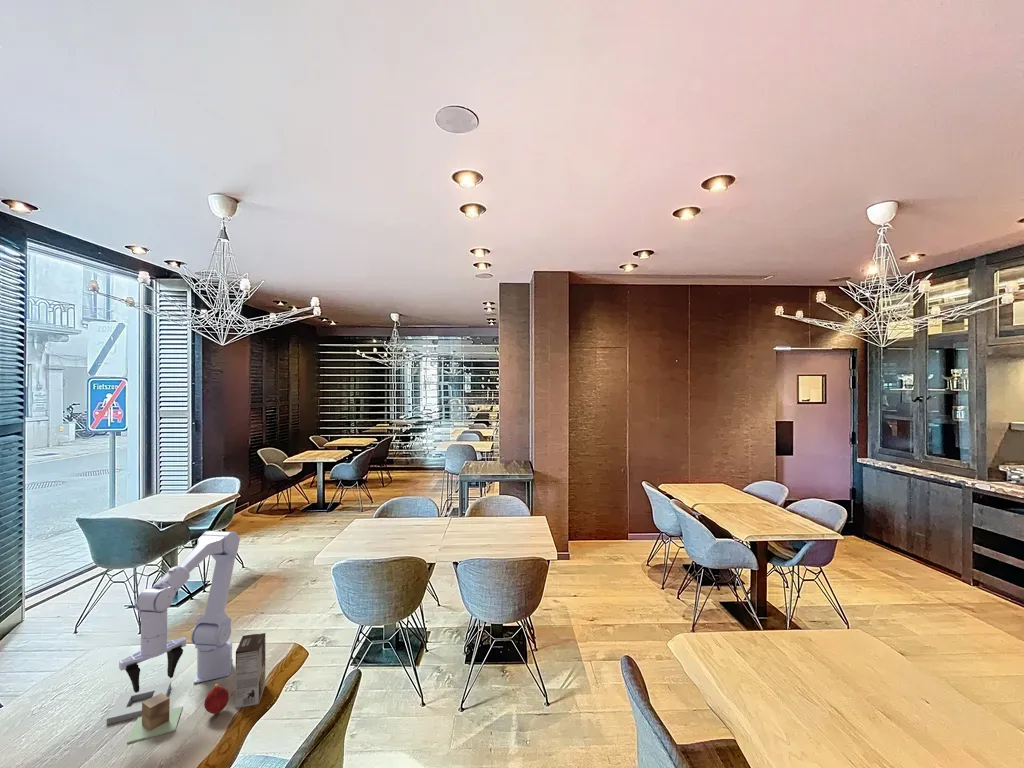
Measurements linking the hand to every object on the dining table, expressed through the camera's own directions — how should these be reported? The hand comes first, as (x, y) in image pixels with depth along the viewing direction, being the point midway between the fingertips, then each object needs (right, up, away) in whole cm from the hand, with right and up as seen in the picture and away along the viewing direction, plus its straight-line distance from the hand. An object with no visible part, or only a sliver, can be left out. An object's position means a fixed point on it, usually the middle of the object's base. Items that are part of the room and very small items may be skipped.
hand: (153, 683), depth 126 cm
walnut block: (+2, -10, -2) cm, 10 cm away
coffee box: (+21, -10, +10) cm, 25 cm away
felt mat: (+2, -10, -2) cm, 10 cm away
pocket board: (-9, -10, +6) cm, 15 cm away
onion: (+16, -10, +3) cm, 19 cm away
